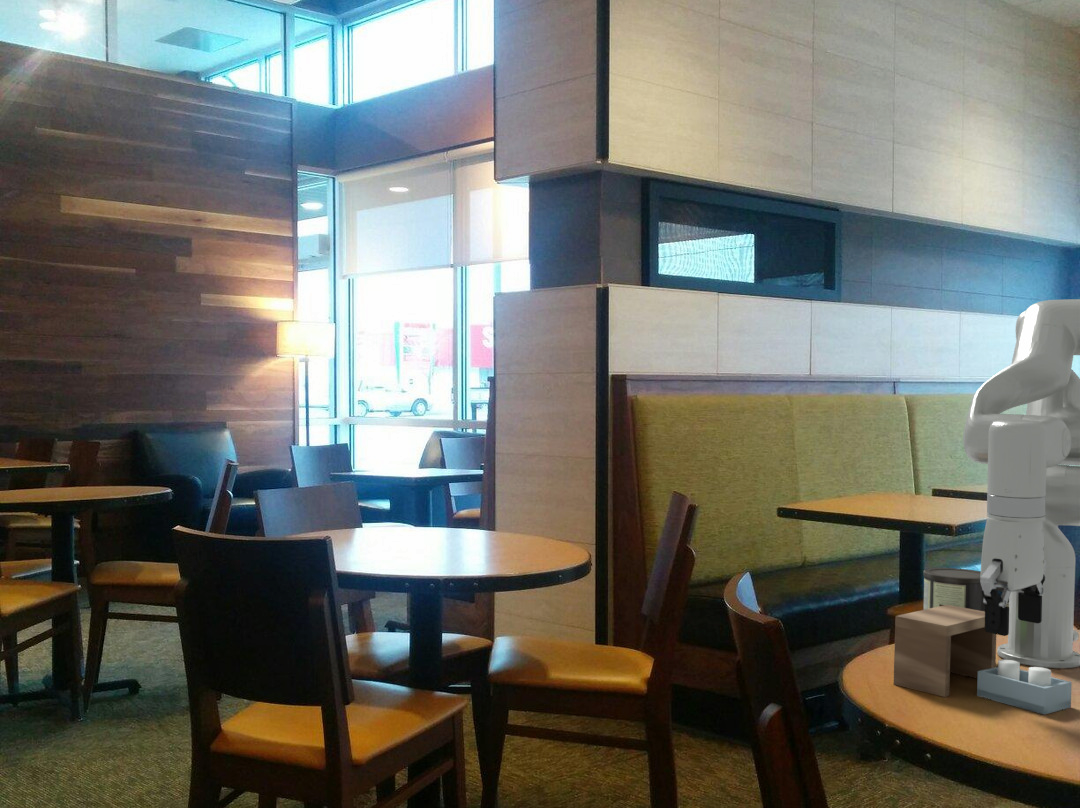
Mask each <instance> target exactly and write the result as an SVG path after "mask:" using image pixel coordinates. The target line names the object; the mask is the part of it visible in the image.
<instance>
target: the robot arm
mask: <svg viewBox="0 0 1080 808" xmlns="http://www.w3.org/2000/svg"><path fill="white" fill-rule="evenodd" d="M1015 338H1016V339H1015V340H1016V341H1015V346H1014V351H1013V354H1012V355H1013V356H1012V360H1011V363H1010V364H1009V365H1008V366H1006V367H1004V368H1003V369H1001V370H999V372H997V373H995V374H994V375H993V376H990V378H989V379H987V380H986V381H985V382H984V383H983V384H982V385H980V386H979V387H978V389H977V390H976V391H975V393H974V395H973V396H972V398H971V401H970V404H969V408H968V412H967V415H966V418H965V419H966V420H965V423H964V424H965V425H964V428H963V438H962V443H963V444H962V445H963V450H964V453H965V454H966V456H967V457H968V458H969V460H971V461H973V462H975V463H978V464H984V465H987V491H986V492H987V495H986V497H987V498H986V501H987V502H986V517H987V518H986V522H985V527H984V531H983V538H982V539H983V540H982V546H981V547H982V550H981V560H980V561H981V562H980V571H981V575H980V583H981V586H982V595H983V597H984V599H983V602H984V604H985V631H986V632H988V633H993V634H996V636H997V635H998V636H1001V637H1003V636H1004V637H1006V636H1007V643H1003V644H1000V645H998V646H997V647H996V654H997V655H998V656H999V657H1000V658H1002V659H1003V660H1013V661H1017V662H1019V663H1020V665H1025V666H1030V667H1042V668H1046V669H1071V668H1077V667H1078V668H1079V667H1080V653H1079V652H1078V651H1077V652H1076V651H1074V650H1073V646H1074V645H1073V644H1074V642H1076V641H1078V640H1079V638H1080V634H1079V632H1078V631H1076V630H1075V629H1074V618H1075V617H1074V614H1075V612H1074V611H1075V587H1076V586H1075V584H1076V583H1075V580H1076V553H1075V549H1074V547H1073V545H1072V544H1071V542H1070V541H1069V539H1068V538H1067V536H1066V535H1064V532H1062V530H1061V529H1060V528H1059V526H1073V527H1074V526H1075V527H1080V377H1079V375H1077V373H1076V372H1075V371H1074V370H1073V369H1072V367H1073V360H1074V356H1080V298H1077V299H1072V298H1071V299H1068V298H1067V299H1048V300H1041V301H1038V302H1036V303H1033V304H1031V305H1029V306H1028V307H1027V308H1026V310H1025V311H1023V312H1021V313H1020V314H1019V315H1018V317H1017V319H1016V323H1015ZM1022 405H1023V406H1024V405H1026V410H1025V412H1026V413H1025V414H1021V413H1020V414H1016V413H1015V414H1014V413H1012V414H1011V413H1003V412H1006V411H1008V410H1010V409H1013V408H1016V407H1021V406H1022ZM999 592H1001V594H1000V593H999ZM1007 604H1008V606H1007Z"/></svg>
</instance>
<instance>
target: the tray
mask: <svg viewBox="0 0 1080 808" xmlns="http://www.w3.org/2000/svg"><path fill="white" fill-rule="evenodd" d="M997 664H998V665H997V666H995V668H990V669H986V670H981V671H978V678H977V679H976V680H977V682H976V683H977V687H976V696H977V697H979V696H980V698H983V697H984V698H983V699H987V698H988V699H987V700H990V699H991V701H994V702H998V703H1000V704H1001V703H1002V704H1005V705H1009V706H1012V707H1016V708H1019V709H1023V710H1025V711H1030V712H1034V713H1037V714H1041V715H1047V714H1052V713H1055V712H1058V711H1063V710H1066V709H1069V708H1072V688H1073V686H1072V681H1068V680H1066V679H1060V678H1056V677H1053V676H1052V669H1050V668H1046V667H1037V666H1030V667H1028V670H1024V669H1020V667H1021V666H1020V665H1021V664H1020V663H1019V662H1017V661H1013V660H1006V659H998V661H997ZM1062 709H1063V710H1062Z"/></svg>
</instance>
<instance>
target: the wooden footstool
mask: <svg viewBox="0 0 1080 808" xmlns="http://www.w3.org/2000/svg"><path fill="white" fill-rule="evenodd" d="M894 622H895V623H894V625H895V626H894V655H893V656H894V657H893V659H894V661H893V685H895V686H899V687H903V688H908V689H911V690H915V691H919V692H923V693H928V694H931V695H934V696H939V697H942V698H946V697H948V696H950V678H951V677H950V675H951V672H952V674H955V673H956V675H959V674H960V675H959V676H964V677H968V676H970V677H969V678H972V677H974V678H973V679H976V678H978V671H981V670H986V669H990V668H995V667H996V664H997V663H996V662H997V660H996V659H997V658H996V657H997V655H996V654H997V634H993V633H988V632H986V631H985V612H984V611H979V610H973V609H968V608H962V607H956V606H951V605H943V606H939V607H934V608H930V609H925V610H924V609H921V610H917V611H912V612H908V613H903V614H898V615H895V620H894Z"/></svg>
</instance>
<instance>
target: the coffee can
mask: <svg viewBox="0 0 1080 808" xmlns="http://www.w3.org/2000/svg"><path fill="white" fill-rule="evenodd" d="M980 575H981V570H980V571H979V570H974V569H966V568H957V567H956V568H955V567H932V568H926V569H924V570H923V578H924V579H923V610H925V609H930V608H934V607H939V606H943V605H951V606H956V607H962V608H968V609H973V610H979V611H984V612H985V604H984V602H983V599H984V597H983V595H982V586H981V583H980Z"/></svg>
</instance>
